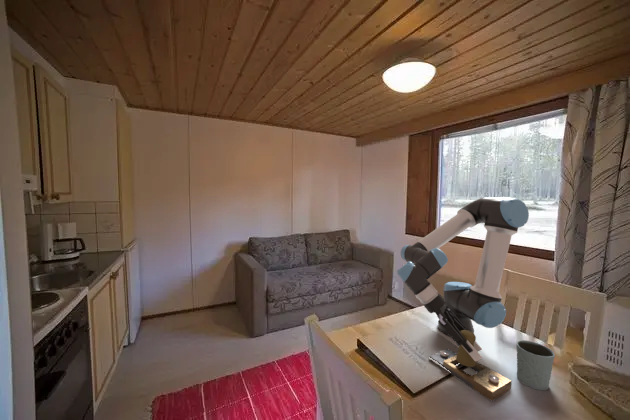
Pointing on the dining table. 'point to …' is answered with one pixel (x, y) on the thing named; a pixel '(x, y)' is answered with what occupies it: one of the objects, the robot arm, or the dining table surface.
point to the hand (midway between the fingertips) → (478, 354)
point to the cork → (462, 353)
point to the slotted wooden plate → (475, 375)
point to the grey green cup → (534, 364)
